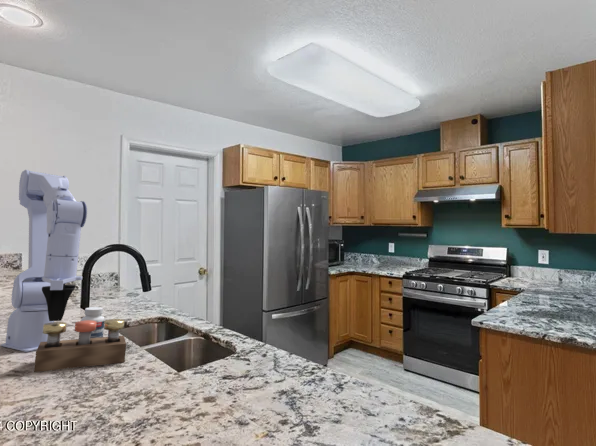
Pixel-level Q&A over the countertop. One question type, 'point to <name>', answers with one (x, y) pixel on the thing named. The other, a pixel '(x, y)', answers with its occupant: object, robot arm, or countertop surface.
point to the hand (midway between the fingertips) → (55, 320)
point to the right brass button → (113, 329)
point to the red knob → (85, 331)
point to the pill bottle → (95, 315)
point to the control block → (79, 354)
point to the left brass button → (54, 333)
